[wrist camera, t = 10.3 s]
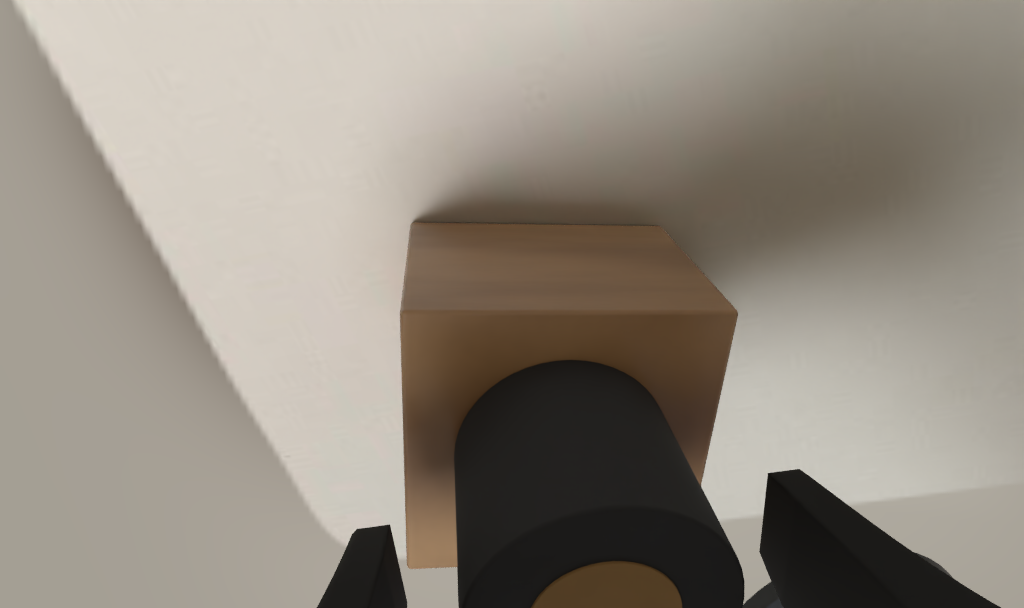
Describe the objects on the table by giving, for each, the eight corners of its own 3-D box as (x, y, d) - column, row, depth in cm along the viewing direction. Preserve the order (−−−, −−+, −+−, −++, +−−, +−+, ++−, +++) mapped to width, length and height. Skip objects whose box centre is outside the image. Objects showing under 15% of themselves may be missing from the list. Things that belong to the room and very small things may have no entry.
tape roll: (649, 527, 16) (718, 704, 12) (453, 535, 16) (457, 722, 12) (681, 357, 14) (775, 504, 10) (455, 359, 14) (461, 515, 10)
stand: (630, 428, 22) (686, 559, 17) (414, 432, 21) (406, 570, 16) (661, 224, 19) (740, 311, 14) (410, 221, 18) (399, 311, 13)
